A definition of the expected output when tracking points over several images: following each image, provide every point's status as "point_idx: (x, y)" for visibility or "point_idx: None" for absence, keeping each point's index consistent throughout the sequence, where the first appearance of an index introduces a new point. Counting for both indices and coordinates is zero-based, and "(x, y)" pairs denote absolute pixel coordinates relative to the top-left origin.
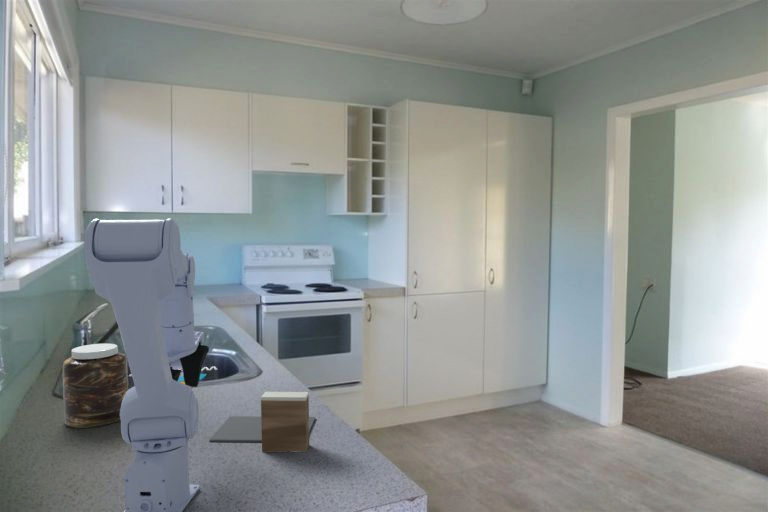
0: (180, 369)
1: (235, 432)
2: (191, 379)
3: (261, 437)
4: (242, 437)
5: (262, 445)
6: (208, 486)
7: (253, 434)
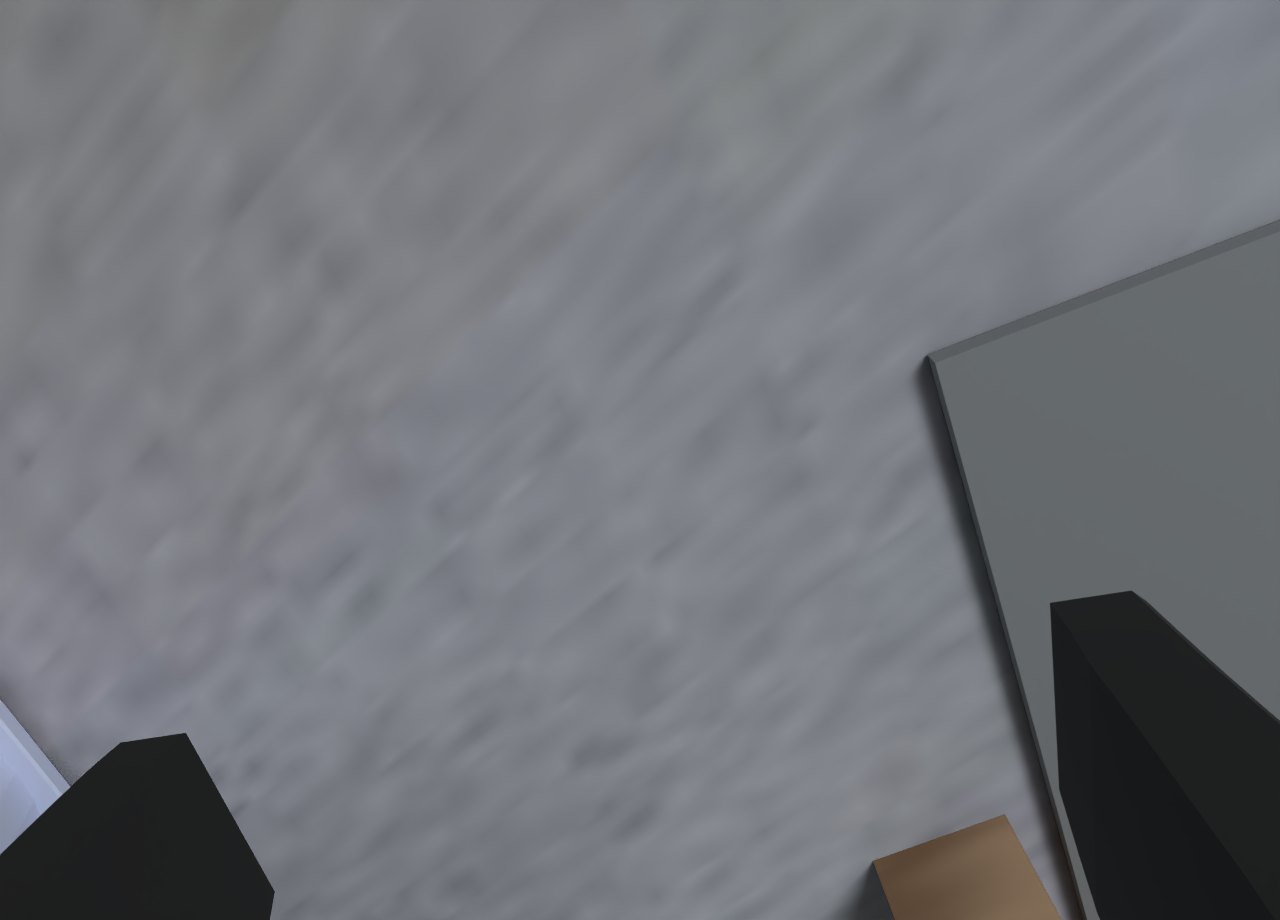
0: None
1: (1165, 477)
2: (1116, 853)
3: None
4: None
5: (891, 903)
6: None
7: None
